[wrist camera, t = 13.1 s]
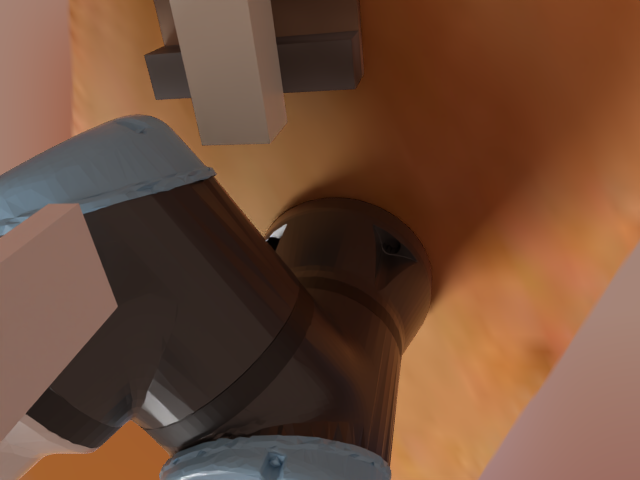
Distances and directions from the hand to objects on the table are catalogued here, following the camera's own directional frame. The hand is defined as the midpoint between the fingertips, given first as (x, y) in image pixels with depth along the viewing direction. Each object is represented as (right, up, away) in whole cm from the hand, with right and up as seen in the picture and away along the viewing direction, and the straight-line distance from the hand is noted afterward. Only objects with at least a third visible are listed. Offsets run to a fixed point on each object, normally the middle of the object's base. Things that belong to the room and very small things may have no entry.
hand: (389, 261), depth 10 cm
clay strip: (-7, +15, +22) cm, 28 cm away
